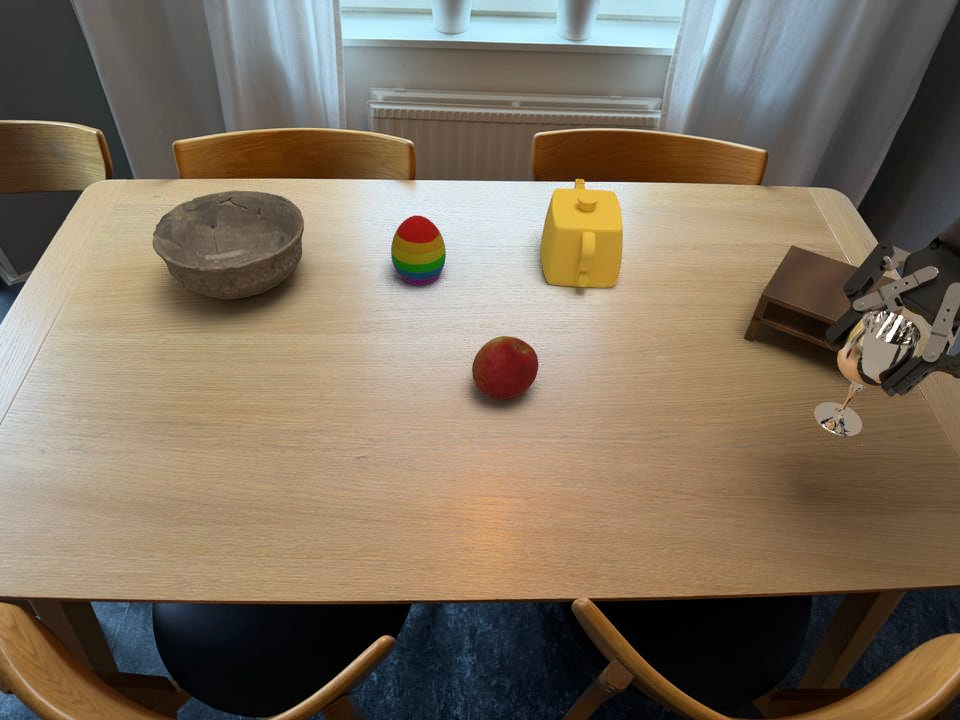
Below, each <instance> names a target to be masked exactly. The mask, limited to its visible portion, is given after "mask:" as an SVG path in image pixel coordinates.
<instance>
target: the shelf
mask: <svg viewBox="0 0 960 720" xmlns="http://www.w3.org/2000/svg"><path fill="white" fill-rule="evenodd" d="M859 267H860V266H856V265H853V264H850V263H847V262H844V261H841V260H838V259H834V258H831V257H829V256H826V255H823V254H820V253H817V252H814V251H811V250H808V249H805V248H802V247H798V246H796V245H793V244H791V246H790V247H789V249H788V251H786V254H785V255H784V256H783V259H781V262H780V263H779V265H778V266H777V268H776V270H775V272H774V273H773V275H772V276H771V278H770V280H769V281H768V283H767V284H766V286H765V287H764V289H763V291H762V293H761V295H760V297H759V300H758V302H757V305H756V307H755V309H754V312H753V314H752V317H751V319H750V322H749V325H748V327H747V329H746V332H745V334H744V336H743V339H745V340H747V341H749V342H753V341H754V340H755V337H757V336H756V335H757V333H758V330H759V329H760V326H761V324H762V325H765V326H768V327H771V328H773V329H776V330H778V331H780V332H783V333H786V334H788V335H791V336H793V337H795V338H799V339H801V340H804V341H807V342H810V343H812V344H814V345H816V346H819V347H822V348H825V349H827V350H830V351H832V352H835V353H838V350H839V349H838V350H837V351H833V350H832V349H830V348H829V347H828V346H827V345H826V343H825V342H824V341H825V339H826V338H827V336H826V332H827V330H828V328H829V327H830V326H832V325H833V324H834V323H835V322H836V321H837V320H838V319H839V318H840V317H841V316H842V315H843V314H845V313H846V312H847V311H848V310H849V308H850V306H851V303H850V301H849V299H848V298H847V296H846V294H845V293H844V291H843V287H844V285H845V284H846V283H847V282H848V280H849V279H850V278H851V277H852V275H853V274H854V273H855V272H856V270H857V269H858V268H859ZM897 280H898V279H895V278H893V277H889V276H886V275H883V276H882V277H881V278H880V279H879V280H878V282H877V283H876V284H875V285H874V287H873V288H872V289H871V290H870V292H869V293H868V294H867V295H869V294H871V293H874V292H876V291H878V289H879V288H880V287H882V286H885V285H887V284H889V283H892V282H894V281H897ZM903 310H904V308H902V309H900V310H897V311H895V312H893V313H896V314H899V315H901V316H902V312H903Z"/></svg>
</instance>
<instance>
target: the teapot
mask: <svg viewBox="0 0 960 720" xmlns="http://www.w3.org/2000/svg"><path fill="white" fill-rule="evenodd" d="M585 183H586V182H585V178H584V179H583V178H575V182H574V187H573V188H556V189H554V190H553V192H552V195H551V198H550V201H549V204H548V207H547V211H546V215H545V218H544V222H543V229H542V233H541V239H540V257H541V258H540V260H541V265H542V270H543V275H544V278H545V281H546V283H547V284H549V285H552V286H560V287H576V288H599V289H603V288H604V289H605V288H606V289H607V288H613V287H614V285H616V282H617V281H618V278H619V275H620V273H621V267H622V259H623V244H624V241H623V240H624V239H623V238H624V235H623V214H622V209H621V205H620V201H619V198H618V196H617V194H616V193H615V192H614V191H613V190H605V189H589V188H586V184H585Z"/></svg>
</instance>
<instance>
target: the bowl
mask: <svg viewBox="0 0 960 720" xmlns="http://www.w3.org/2000/svg"><path fill="white" fill-rule="evenodd" d="M304 231H305V219H304V217H303V213H302V211H301V209H300V208H299V206H297V205H296V204H294V203H293V201H291V200H290V199H289V198H287V197H285V196H283V195H279V194H273V193H270V192H265V191H255V190H227V191H222V192H215V193H209V194H205V195H201V196H197V197H194V198H193V199H191V200H187V201H184V202H182V203H180V204H177V206H175V207H173V208H172V209H170V210H169V211H167V213H165V214H164V215H162V217H161V218H160V220H159V222H158V223H157V224H156V226H155V229H154V231H153V233H152V236H153V238H152V241H151V242H152V248H153V250H154V252H155V253H156V254H157V255H158V256H159V257H160V258H161V259H162V261H164V263H165V264H166V266H167V270H168V272H169V274H170V276H171V277H172V278H173V279H174V280H175V281H176V282H177V283H179V284H180V285H181V286H183V287H185V288H187V289H189V290H190V291H192V292H195V293H197V294H201V295H204V296H206V297H212V298H217V299H221V300H238V299H239V300H240V299H243V298H249V297H252V296H255V295H260V294H263V293H265V292H268V291H269V290H271V289H272V288H274V287H276V286H279V285H280V284H281V283H283V281H284V280H286V279H287V278H288V277H289V275H291V274H292V272H293V271H294V269H296V267H298V265H299V263H300V261H301V260H302V258H303V257H302V256H303V241H302V240H303V234H304Z"/></svg>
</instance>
